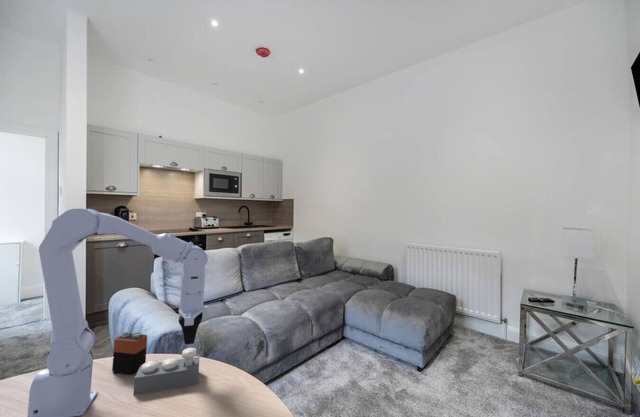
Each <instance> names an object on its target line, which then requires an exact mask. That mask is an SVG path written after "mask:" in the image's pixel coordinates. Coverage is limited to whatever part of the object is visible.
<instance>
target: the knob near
mask: <svg viewBox="0 0 640 417" xmlns="http://www.w3.org/2000/svg"><path fill="white" fill-rule="evenodd" d="M158 363H159V362H158V361H156V360H150V361H147V362H146V363H144V364H143V365H142V373H150V372H153V371H155V370H156V369H157V365H158Z"/></svg>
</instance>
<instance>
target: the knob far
mask: <svg viewBox="0 0 640 417" xmlns="http://www.w3.org/2000/svg"><path fill="white" fill-rule="evenodd" d="M181 357H182V358H181V359H185V367H186V366H193V358H195V357H197V348H196V347H187V348H185V349H183V350H182V355H181Z"/></svg>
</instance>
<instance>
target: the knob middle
mask: <svg viewBox="0 0 640 417" xmlns="http://www.w3.org/2000/svg"><path fill="white" fill-rule="evenodd" d="M177 360H178V359H177V358H175V357H172V358H167V359H165V360H163V361H162V362H163V363H162V369H163V370H170V369H173V368H175V367H176V366H177Z"/></svg>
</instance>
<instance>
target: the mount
mask: <svg viewBox="0 0 640 417" xmlns="http://www.w3.org/2000/svg"><path fill="white" fill-rule="evenodd" d="M162 363H163V361H159V362H158V365H157V369H156V370H155V371H153V372H150V373H142V365H141V366H140V368H139V370H138V372H137V373H136V374H135V376H134V380H133V382H134V383H133V394H132V395H133V396H136V395H142V394H147V393H148V394H149V393H153V392H159V391H164V390H170V389H176V388H181V387H182V388H183V387H189V386H193V385H198V384H199V381H198V380H199V372H200V356H195V357H193V366H186V367H185V358H181V359H177V366H176V367H175V368H173V369H170V370H163V369H162Z"/></svg>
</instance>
